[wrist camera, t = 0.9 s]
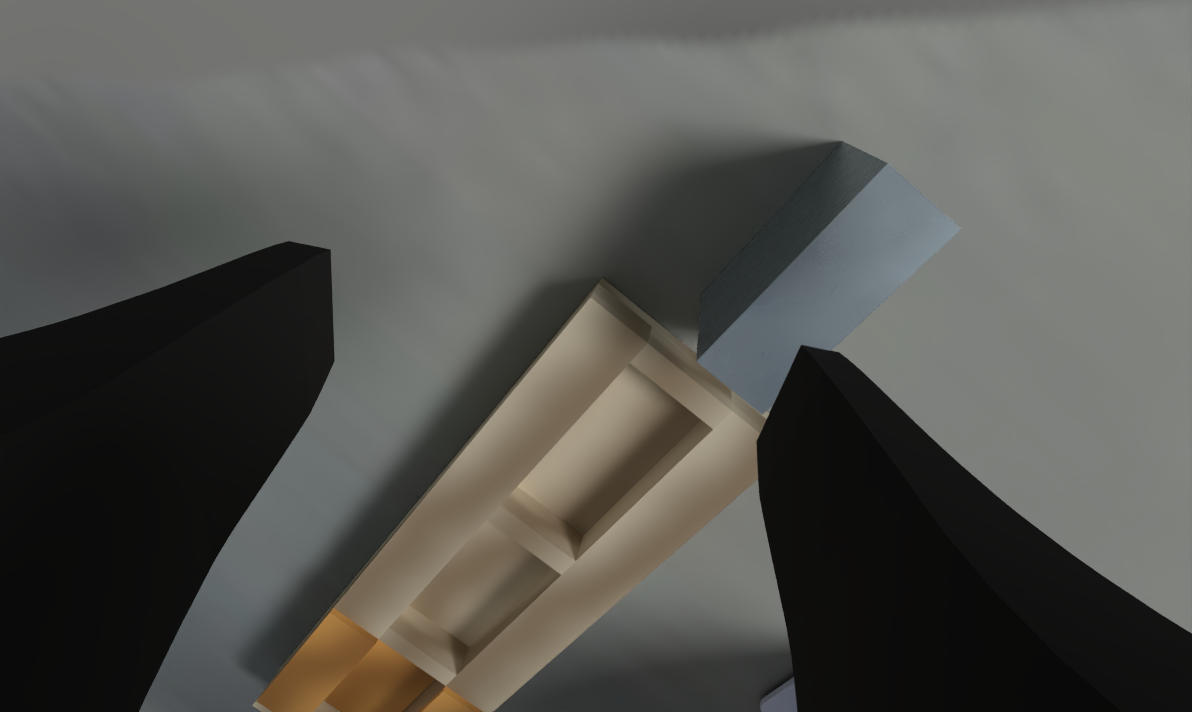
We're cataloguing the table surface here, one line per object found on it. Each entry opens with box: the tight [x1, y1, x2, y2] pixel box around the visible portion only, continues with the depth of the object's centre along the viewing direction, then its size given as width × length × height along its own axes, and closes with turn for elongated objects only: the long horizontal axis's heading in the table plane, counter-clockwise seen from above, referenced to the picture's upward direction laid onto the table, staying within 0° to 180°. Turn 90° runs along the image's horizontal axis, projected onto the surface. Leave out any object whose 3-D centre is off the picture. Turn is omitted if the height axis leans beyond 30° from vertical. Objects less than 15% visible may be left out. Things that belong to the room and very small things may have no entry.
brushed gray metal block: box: [696, 141, 961, 415], centre depth 21 cm, size 2×7×6 cm, turn 142°
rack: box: [252, 278, 769, 712], centre depth 30 cm, size 9×29×3 cm, turn 142°
